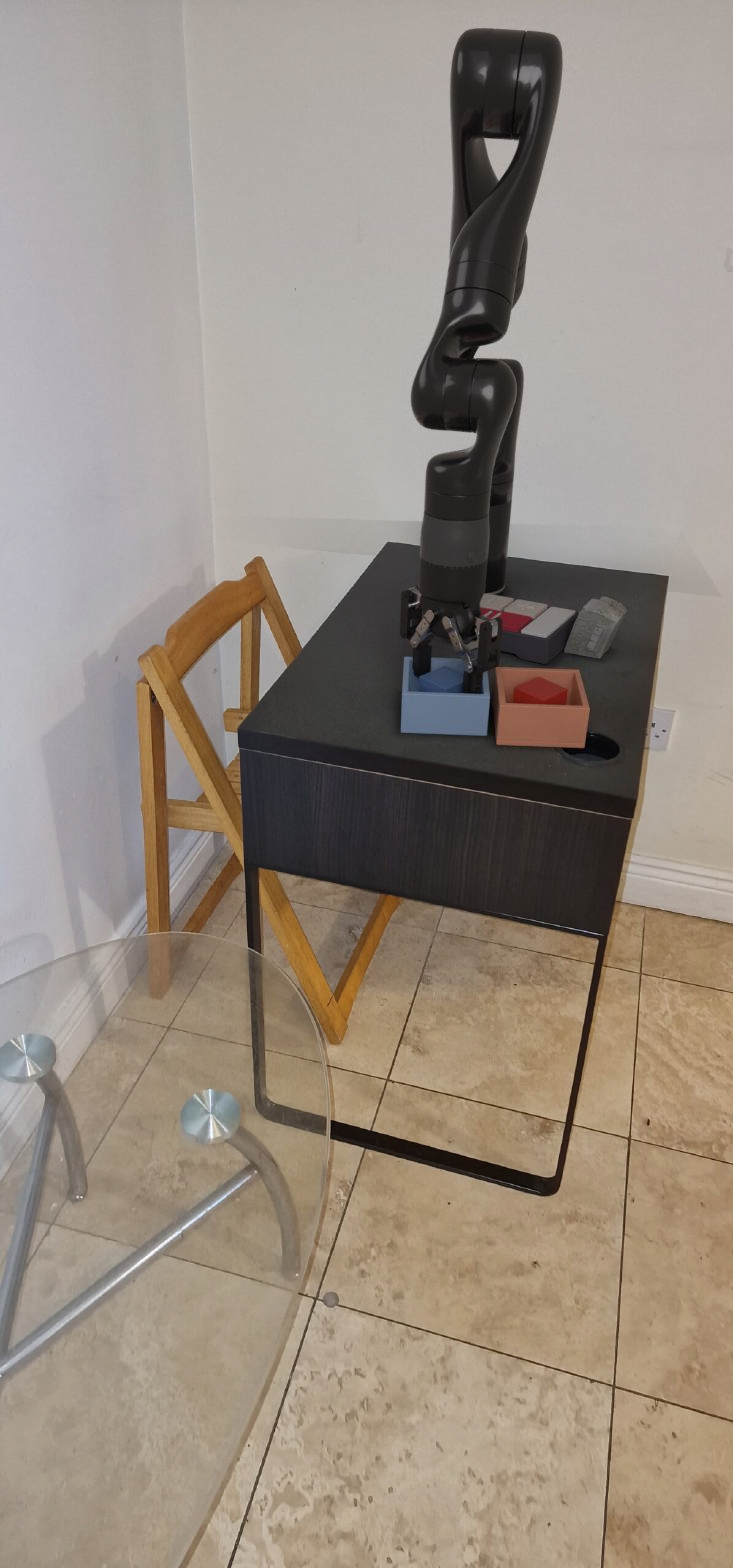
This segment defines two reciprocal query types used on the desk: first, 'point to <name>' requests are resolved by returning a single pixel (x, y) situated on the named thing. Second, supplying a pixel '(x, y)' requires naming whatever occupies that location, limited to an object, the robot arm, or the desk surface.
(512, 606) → the grey tray with pads
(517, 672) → the red bin
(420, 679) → the blue block
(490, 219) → the robot arm
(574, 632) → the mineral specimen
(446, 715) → the blue bin
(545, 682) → the red block
